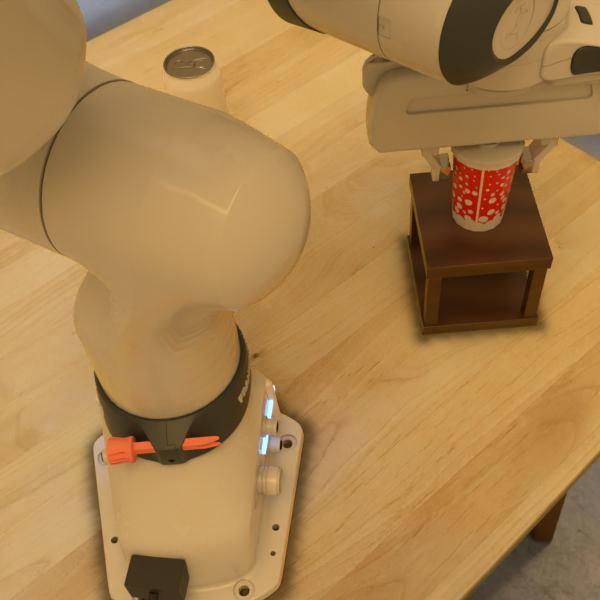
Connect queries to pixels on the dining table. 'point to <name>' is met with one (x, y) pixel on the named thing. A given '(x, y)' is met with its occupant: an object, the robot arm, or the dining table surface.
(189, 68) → the can
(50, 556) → the dining table surface
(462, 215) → the beverage cup
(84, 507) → the dining table surface
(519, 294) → the shelf
